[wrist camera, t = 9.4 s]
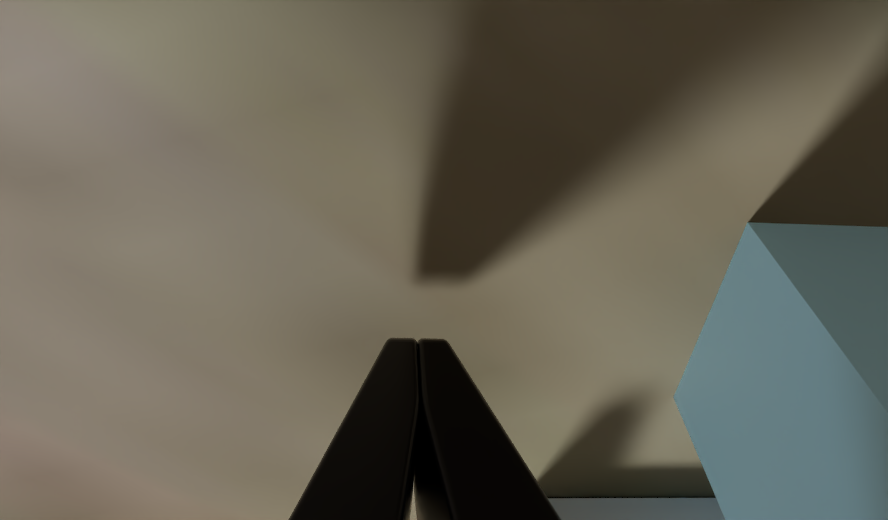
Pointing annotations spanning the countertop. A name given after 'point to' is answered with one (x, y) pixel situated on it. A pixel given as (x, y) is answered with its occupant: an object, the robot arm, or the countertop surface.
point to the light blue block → (795, 376)
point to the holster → (637, 508)
